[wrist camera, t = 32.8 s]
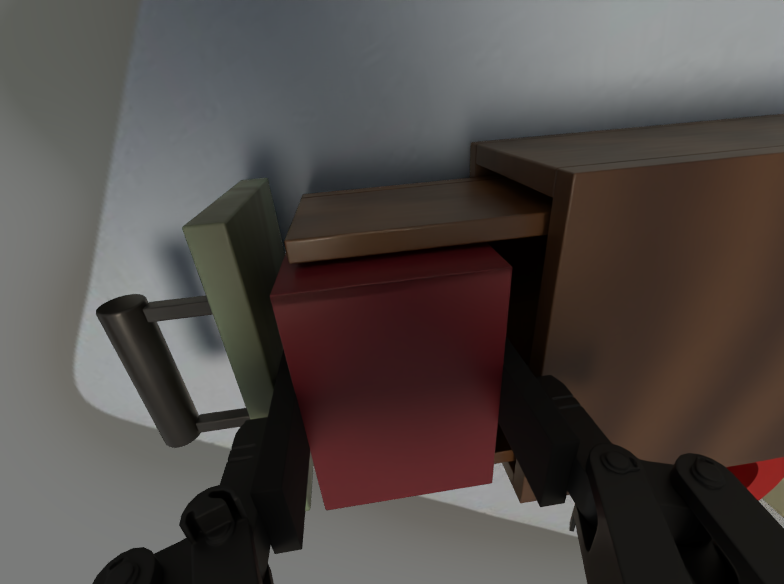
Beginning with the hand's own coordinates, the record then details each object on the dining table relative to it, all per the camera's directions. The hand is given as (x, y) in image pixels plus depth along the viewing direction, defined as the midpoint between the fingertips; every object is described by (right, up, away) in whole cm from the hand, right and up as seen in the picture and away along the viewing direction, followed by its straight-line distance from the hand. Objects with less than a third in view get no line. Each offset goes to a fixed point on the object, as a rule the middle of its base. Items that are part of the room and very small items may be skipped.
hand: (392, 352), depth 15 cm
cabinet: (+13, +4, +6) cm, 15 cm away
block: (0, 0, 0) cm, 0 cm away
